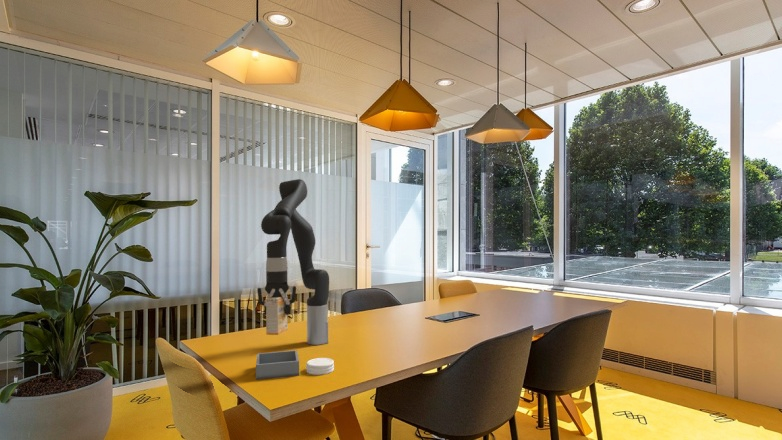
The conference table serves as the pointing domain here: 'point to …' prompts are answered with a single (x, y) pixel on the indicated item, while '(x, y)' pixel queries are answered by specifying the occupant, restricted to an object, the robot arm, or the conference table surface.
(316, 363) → the white short cylinder
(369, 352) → the conference table surface
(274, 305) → the supplement box
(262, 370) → the bin
